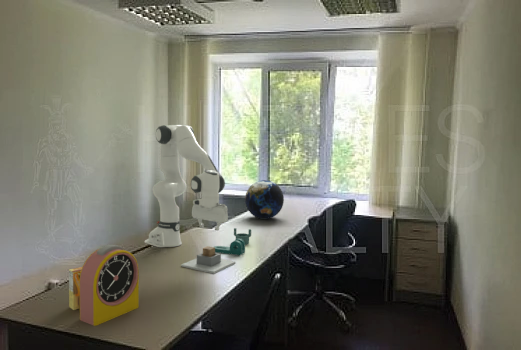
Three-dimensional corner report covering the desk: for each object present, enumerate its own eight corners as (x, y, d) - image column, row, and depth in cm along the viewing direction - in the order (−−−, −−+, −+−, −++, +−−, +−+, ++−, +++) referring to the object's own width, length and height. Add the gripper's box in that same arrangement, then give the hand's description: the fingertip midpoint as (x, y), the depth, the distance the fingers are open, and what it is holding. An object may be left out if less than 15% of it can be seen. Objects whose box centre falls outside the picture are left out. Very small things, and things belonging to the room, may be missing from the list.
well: (181, 266, 234) (181, 255, 233) (203, 257, 252) (204, 247, 251) (214, 273, 225) (214, 262, 224) (235, 263, 242) (235, 253, 242)
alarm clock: (95, 326, 164) (94, 253, 161) (78, 319, 169) (78, 249, 166) (139, 307, 182) (139, 241, 179) (123, 301, 187) (123, 238, 184)
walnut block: (202, 263, 237) (202, 248, 236) (207, 261, 241) (207, 246, 240) (209, 264, 235) (210, 249, 234) (214, 262, 239) (215, 247, 238)
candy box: (90, 301, 186) (90, 264, 184) (95, 304, 183) (95, 267, 181) (68, 307, 179) (68, 269, 178) (73, 310, 176) (73, 271, 175)
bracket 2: (252, 244, 282) (252, 229, 282) (238, 245, 278) (239, 230, 277) (245, 240, 290) (245, 226, 289) (231, 242, 285) (232, 227, 285)
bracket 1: (244, 252, 264) (245, 239, 263) (241, 255, 257) (241, 242, 256) (215, 249, 269) (215, 235, 268) (211, 252, 262) (211, 238, 262)
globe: (259, 213, 379) (260, 176, 375) (290, 218, 361) (291, 180, 358) (236, 218, 355) (237, 179, 351) (268, 224, 337) (270, 184, 334)
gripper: (230, 203, 232) (229, 230, 234) (197, 199, 242) (196, 224, 244) (224, 205, 227) (223, 233, 229) (190, 200, 236) (189, 226, 238)
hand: (209, 228), depth 236 cm, fingers open, 8 cm apart
